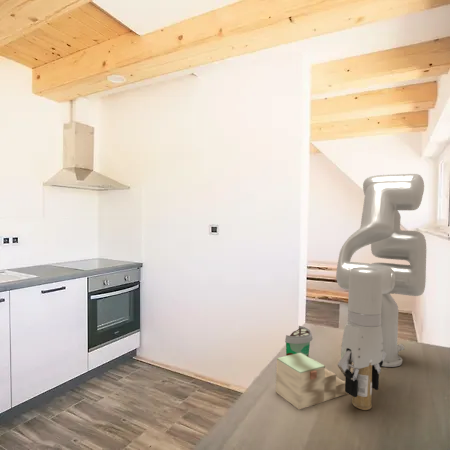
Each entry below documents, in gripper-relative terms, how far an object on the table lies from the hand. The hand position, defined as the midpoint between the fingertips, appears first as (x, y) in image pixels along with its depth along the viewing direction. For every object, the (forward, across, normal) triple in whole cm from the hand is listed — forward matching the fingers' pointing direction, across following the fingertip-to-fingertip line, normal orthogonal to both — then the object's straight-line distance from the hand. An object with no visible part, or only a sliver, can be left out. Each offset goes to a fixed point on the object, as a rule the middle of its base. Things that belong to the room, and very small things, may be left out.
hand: (361, 390), depth 83 cm
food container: (+4, -3, -25) cm, 25 cm away
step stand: (+4, +7, -10) cm, 13 cm away
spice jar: (+4, 0, 0) cm, 4 cm away
